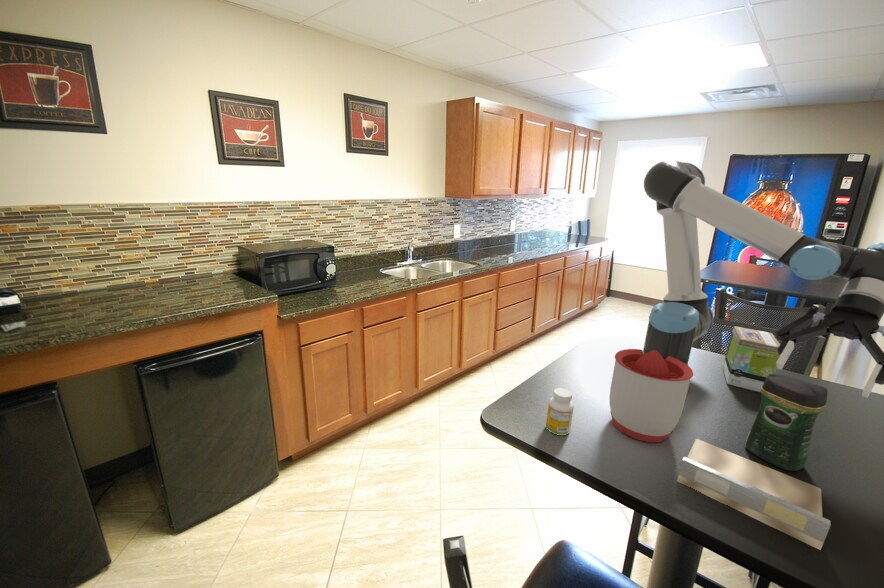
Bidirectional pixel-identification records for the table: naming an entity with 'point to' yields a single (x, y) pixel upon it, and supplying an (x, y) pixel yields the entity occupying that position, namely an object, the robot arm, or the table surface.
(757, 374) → the tea box
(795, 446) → the coffee jar
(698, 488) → the shelf board
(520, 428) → the table surface
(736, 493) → the rail
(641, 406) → the citrus juicer
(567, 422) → the supplement bottle
